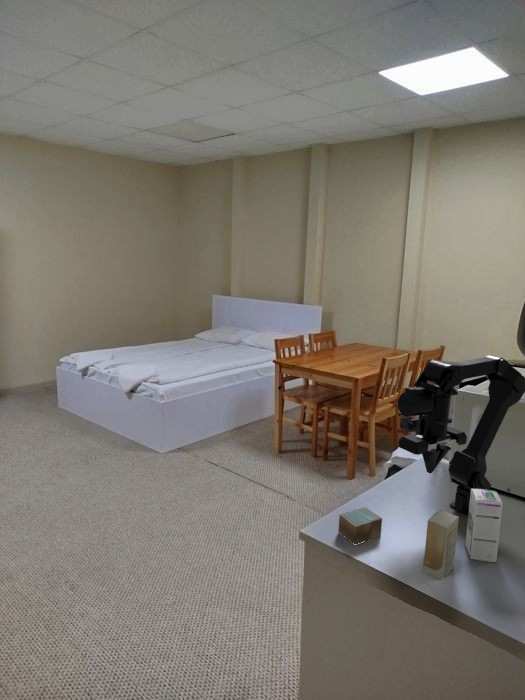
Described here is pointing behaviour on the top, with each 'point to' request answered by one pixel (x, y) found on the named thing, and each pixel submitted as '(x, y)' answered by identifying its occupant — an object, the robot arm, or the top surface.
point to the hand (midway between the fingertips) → (429, 472)
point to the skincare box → (440, 544)
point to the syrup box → (483, 525)
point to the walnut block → (360, 525)
